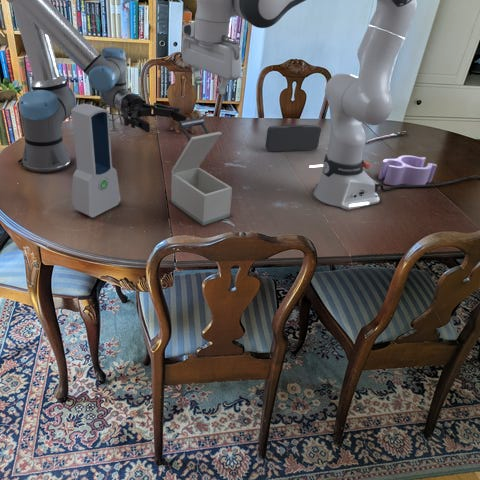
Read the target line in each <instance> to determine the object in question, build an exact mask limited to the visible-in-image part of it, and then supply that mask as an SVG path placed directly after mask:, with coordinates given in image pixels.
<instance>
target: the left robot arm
mask: <svg viewBox="0 0 480 480" xmlns="http://www.w3.org/2000/svg"><path fill="white" fill-rule="evenodd" d="M6 2H7V3H10V4H11V7H12V10H13V14H14V18H15V20H16V24H17V27H18V30H19V33H20V36H21V41H22V44H23V47H24V51H25V54H26V57H27V60H28V63H29V67H30V70H31V73H32V76H33V80H32V82H31V84H30V86H31V91H27V92H24V93H22V95H20V97H19V99H18V111H19V114H20V120H21V126H22V132H23V136H24V148H23V153H22V157H20V159H18V161H17V163H18V164H20V163H22V166H23V168H24V169H25V170H27V171H29V172H33V173H39V174H46V173H56V172H61V171H63V170H66V169H67V168H69V167H70V166H71V163H72V159H71V155H70V153H69V151H68V150H67V149H68V148H67V147H66V144H65V143H64V140H63V132H62V124H63V123H65V121H66V120H67V119H69V118H70V117H72V115H71V110H72V109H73V108H74V107H75V106H77V96H76V94H75V92H74V90H73V89H72V88H71V87H70V86H69V84H68V80H67V78H66V77H65V76H63V75H61V72H60V68H59V64H58V61H57V57H56V53H55V50H54V46H53V43H54V45H56V46H57V47H58V48H59V49H60V50H61V51H62V52H63V53H64V54H65V55H66V56H67V57H68V58H69V59H70V60H71V61H72V62H73V63H74V64H75V65H76V66H77V67H78V68H79V69H80V70H81V71H82V72H83V74H85V75H86V76H87V78H88V83H89V85H90V86H91V88H92V89H94V90H95V91H97V92H98V95H99V97H100V98H101V100H102V101H101V102H102V103H104V102H105V103H106V106H110V107H109V108H111V107H112V109H115V110H117V112H118V111H120V115H121V118H122V120H123V124H124V126H125V127H129V125H130V128H131V129H135V128H138V129H140V130H142V131H144V132H146V133H150V132H151V131H150V127H151V126H150V123H149V122H148V121H146V120H144V119H143V118H141V117H152V118H154V117H156V116H157V117H162V118H164V117H165V118H170V119H171V118H173V120H175V121H177V122H180V121H185V120H187V116H188V115H185V114H182V113H181V108H179V107H176V106H175V107H174V106H170V105H165V104H160V103H159V102H154V103H153V104H149V103H147V102H146V100H145V99H144V97H142V96H140V95H138V94H136V93H134V92H133V91H129V90H128V87H127V86H128V85H127V59H126V51H125V50H124V49H123V48H121V47H115V46H114V47H113V46H110V47H104V48H102V49H101V53H100V51H98V50H97V49H96V48H95V47H94V46H93V44H91V42H90V41H88V40H87V38H86V37H85V36H84V35H83V34H82V33H81V32H80V31H79V30H78V29H77V28H76V26H74V25H73V24H72V23H71V22H70V21H69V20H68V19H67V18H66V17H65V16H64V15H63V13H62V12H61V11H59V10H58V9H57V7H55V5H54V4H53V3H52V2H51V1H50V0H6ZM52 42H53V43H52ZM105 103H104V104H105ZM173 120H172V121H173Z"/></svg>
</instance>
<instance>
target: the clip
mask: <svg viewBox="0 0 480 480" xmlns="http://www.w3.org/2000/svg"><path fill="white" fill-rule="evenodd" d="M426 159H427V158H426V157H425V156H421V157H420V156H416V155H408V154H407V155H400V156H398V157H397V158H385V159H382V163H381V167H380V170H379V173H378V176H377V177H378V178H377V179H378V180H383V178H384V180H383V184H384V185H389V186H397V185H427V183H430V184H432V180H433V177H434V175H435V172H436V169H437V166H438V165H437V164H436V163H432V162H428V163H427V164H426V166H424V165H425V162H426Z"/></svg>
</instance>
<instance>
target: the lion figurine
mask: <svg viewBox="0 0 480 480" xmlns="http://www.w3.org/2000/svg"><path fill="white" fill-rule="evenodd" d="M186 116H187V120H191V119H197V118H202V112H201V110H200V109H194V110H192V112H191V113H189V114H188V115H186ZM173 126H174V128H173ZM178 128H179V126H178V122H177V121H175V120H173V118H170V121H169V125H168V128H166V131H169V130H170V131H173V130H175V132H176V133H177V134H179V133H180V130H178ZM187 128H188V130H187V131H190V133H191V134H194V133H195V131H194V130H193V129H194V126H192V127H187Z"/></svg>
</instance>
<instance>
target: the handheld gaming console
mask: <svg viewBox="0 0 480 480" xmlns="http://www.w3.org/2000/svg"><path fill="white" fill-rule="evenodd" d="M321 133H322V127H321V126H319V125H318V124H292V125H291V124H290V125H289V124H286V125H285V124H284V125H283V124H281V125H270V126H268V127H267V130H266V139H265V145H264V146H265V150H267V151H268V152H289V151H290V152H292V151H294V152H295V151H312V150H317V148H318V147H319V144H320V137H321Z"/></svg>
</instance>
